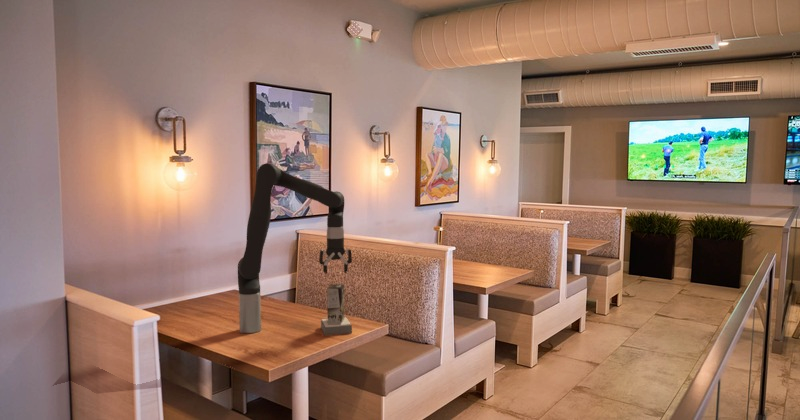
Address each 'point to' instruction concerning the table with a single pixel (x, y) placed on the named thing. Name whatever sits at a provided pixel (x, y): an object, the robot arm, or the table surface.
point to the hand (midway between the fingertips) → (335, 273)
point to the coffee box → (335, 303)
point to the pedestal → (336, 327)
